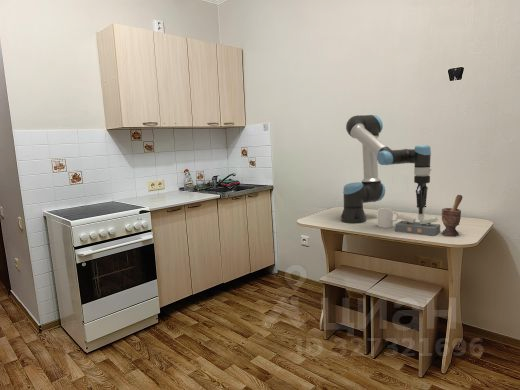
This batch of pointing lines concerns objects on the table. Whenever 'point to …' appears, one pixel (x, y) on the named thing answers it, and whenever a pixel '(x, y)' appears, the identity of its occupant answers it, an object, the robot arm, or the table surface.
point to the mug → (386, 217)
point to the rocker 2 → (428, 220)
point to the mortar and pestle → (452, 218)
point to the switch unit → (417, 228)
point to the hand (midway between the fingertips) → (421, 219)
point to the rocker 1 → (407, 218)
